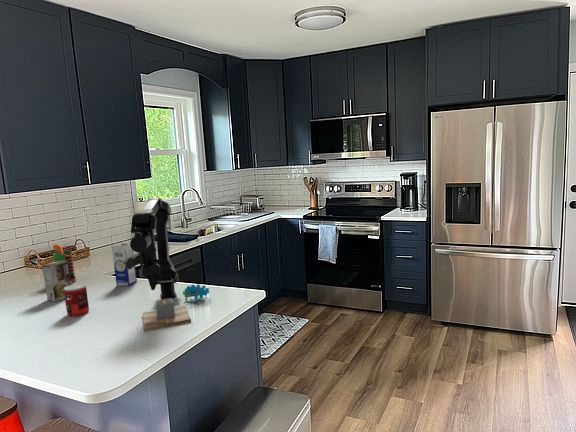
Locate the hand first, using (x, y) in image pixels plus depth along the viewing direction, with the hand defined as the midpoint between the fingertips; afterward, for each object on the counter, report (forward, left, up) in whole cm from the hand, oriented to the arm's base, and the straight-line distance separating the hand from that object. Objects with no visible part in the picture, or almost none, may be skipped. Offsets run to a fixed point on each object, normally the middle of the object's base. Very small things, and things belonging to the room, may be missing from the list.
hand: (152, 286), depth 160 cm
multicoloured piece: (-74, -39, -12) cm, 85 cm away
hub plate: (+5, +4, -12) cm, 13 cm away
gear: (-11, +17, -12) cm, 24 cm away
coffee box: (-47, -38, -12) cm, 62 cm away
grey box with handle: (+5, +3, -10) cm, 12 cm away
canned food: (-20, -28, -12) cm, 37 cm away
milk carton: (-53, -10, -12) cm, 55 cm away
